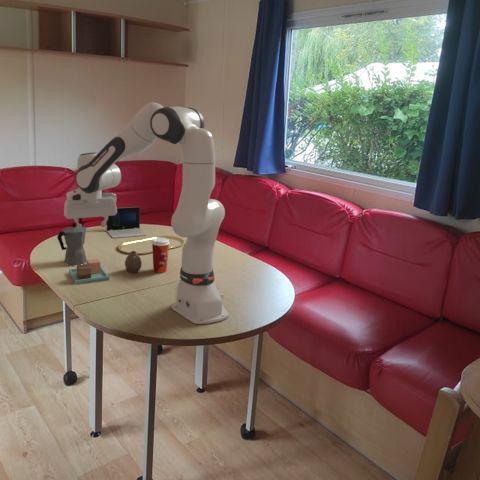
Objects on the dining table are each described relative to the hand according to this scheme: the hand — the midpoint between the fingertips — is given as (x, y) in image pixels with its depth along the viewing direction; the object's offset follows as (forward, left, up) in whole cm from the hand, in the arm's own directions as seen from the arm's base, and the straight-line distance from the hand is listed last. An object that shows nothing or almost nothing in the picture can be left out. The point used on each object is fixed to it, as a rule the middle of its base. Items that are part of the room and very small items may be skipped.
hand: (91, 227), depth 194 cm
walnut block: (-4, +5, -20) cm, 21 cm away
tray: (-2, +2, -20) cm, 20 cm away
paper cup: (-5, -27, -20) cm, 35 cm away
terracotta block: (+1, 0, -20) cm, 20 cm away
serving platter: (+28, -35, -21) cm, 49 cm away
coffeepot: (+16, +5, -20) cm, 26 cm away
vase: (-2, -16, -20) cm, 26 cm away
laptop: (+51, -30, -21) cm, 63 cm away
